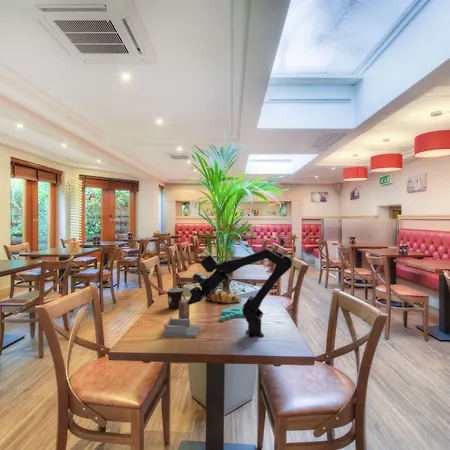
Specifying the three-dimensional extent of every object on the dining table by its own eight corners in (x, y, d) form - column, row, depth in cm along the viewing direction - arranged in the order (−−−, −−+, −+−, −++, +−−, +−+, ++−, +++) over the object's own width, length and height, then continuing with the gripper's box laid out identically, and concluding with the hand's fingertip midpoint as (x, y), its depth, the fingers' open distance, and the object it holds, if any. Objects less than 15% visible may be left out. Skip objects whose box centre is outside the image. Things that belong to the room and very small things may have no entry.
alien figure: (261, 323, 138) (260, 310, 158) (261, 319, 138) (260, 306, 158) (220, 321, 140) (224, 309, 160) (220, 317, 140) (224, 305, 160)
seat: (199, 327, 131) (200, 316, 131) (196, 337, 120) (196, 325, 120) (169, 326, 132) (169, 315, 132) (163, 336, 121) (163, 324, 121)
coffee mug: (165, 306, 162) (165, 289, 161) (180, 304, 165) (180, 287, 165) (170, 312, 151) (170, 294, 151) (185, 310, 155) (186, 292, 154)
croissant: (241, 307, 174) (242, 294, 178) (240, 303, 165) (241, 289, 169) (207, 303, 178) (209, 291, 181) (204, 300, 169) (206, 287, 173)
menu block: (189, 322, 138) (189, 299, 138) (184, 325, 133) (184, 302, 133) (183, 321, 139) (183, 298, 139) (178, 324, 134) (178, 301, 134)
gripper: (211, 264, 141) (190, 284, 145) (194, 270, 123) (171, 292, 127) (225, 281, 138) (204, 301, 142) (211, 290, 121) (187, 312, 125)
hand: (192, 301), depth 134 cm, fingers open, 9 cm apart
